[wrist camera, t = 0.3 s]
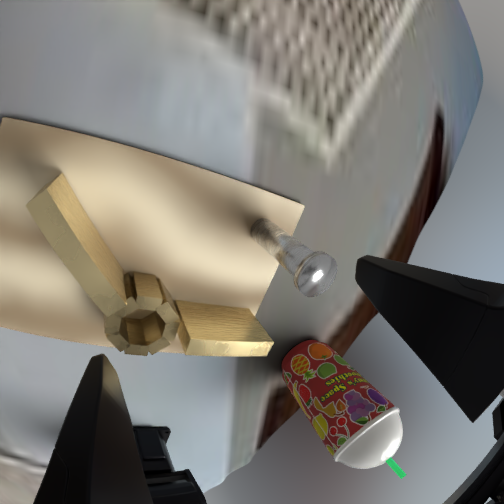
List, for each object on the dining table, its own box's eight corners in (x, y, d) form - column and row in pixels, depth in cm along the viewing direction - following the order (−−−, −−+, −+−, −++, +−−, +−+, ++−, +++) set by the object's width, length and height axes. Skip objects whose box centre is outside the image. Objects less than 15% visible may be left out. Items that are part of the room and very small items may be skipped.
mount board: (233, 351, 29) (235, 355, 28) (-10, 319, 16) (-12, 323, 16) (301, 203, 25) (305, 205, 24) (5, 117, 12) (2, 117, 11)
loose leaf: (106, 279, 19) (106, 317, 15) (44, 185, 14) (25, 205, 11) (122, 268, 19) (126, 305, 16) (62, 172, 15) (46, 188, 11)
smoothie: (334, 322, 34) (449, 434, 18) (321, 366, 38) (412, 469, 22) (274, 342, 31) (391, 487, 15) (268, 387, 35) (356, 510, 19)
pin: (269, 249, 24) (324, 298, 18) (240, 242, 23) (291, 294, 17) (282, 218, 24) (344, 260, 18) (253, 209, 22) (312, 251, 16)
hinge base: (235, 336, 27) (257, 371, 23) (100, 323, 21) (103, 367, 17) (256, 291, 26) (283, 323, 22) (110, 266, 19) (112, 305, 15)
